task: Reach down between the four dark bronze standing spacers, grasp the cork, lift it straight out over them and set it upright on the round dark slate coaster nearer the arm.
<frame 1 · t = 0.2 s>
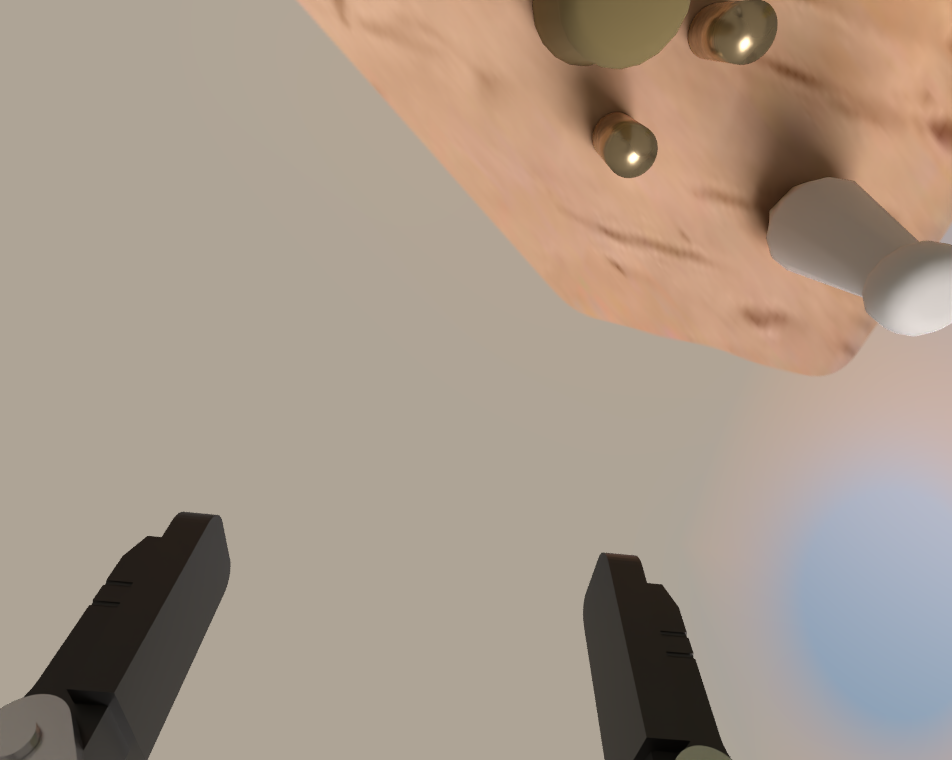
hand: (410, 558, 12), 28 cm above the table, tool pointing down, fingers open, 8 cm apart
cork: (588, 1, 30), on the table
salt shaker: (798, 215, 36), on the table
spacer b: (712, 31, 30), on the table
spacer a: (614, 135, 33), on the table
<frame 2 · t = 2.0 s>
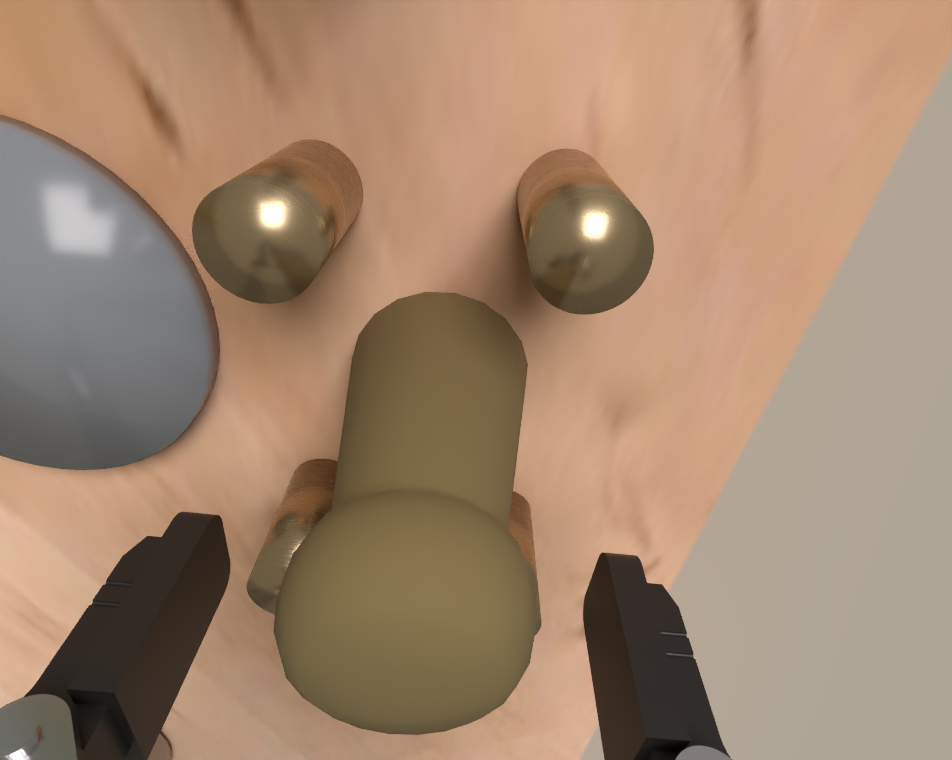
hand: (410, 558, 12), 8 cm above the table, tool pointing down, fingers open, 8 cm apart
spacer d: (498, 512, 23), on the table
cork: (440, 369, 19), on the table
spacer c: (326, 484, 22), on the table
spacer b: (317, 188, 16), on the table
spacer a: (562, 197, 16), on the table
slate coaster: (30, 309, 18), on the table
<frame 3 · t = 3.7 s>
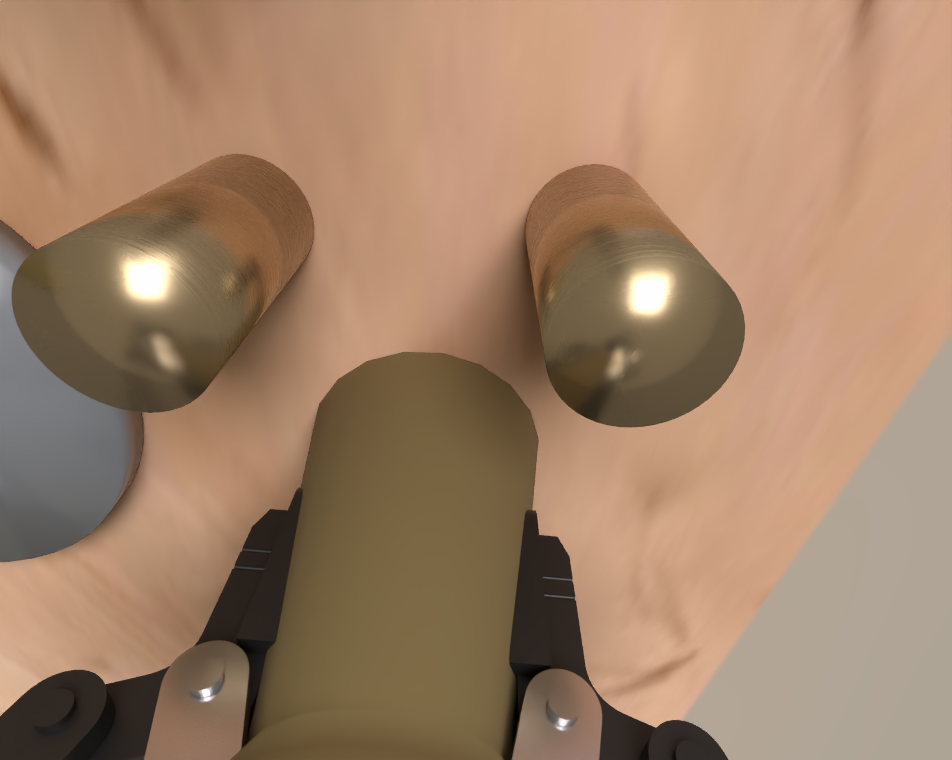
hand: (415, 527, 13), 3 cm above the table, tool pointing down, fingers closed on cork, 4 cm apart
cork: (426, 443, 15), on the table, touching gripper
spacer b: (251, 220, 12), on the table
spacer a: (587, 229, 12), on the table
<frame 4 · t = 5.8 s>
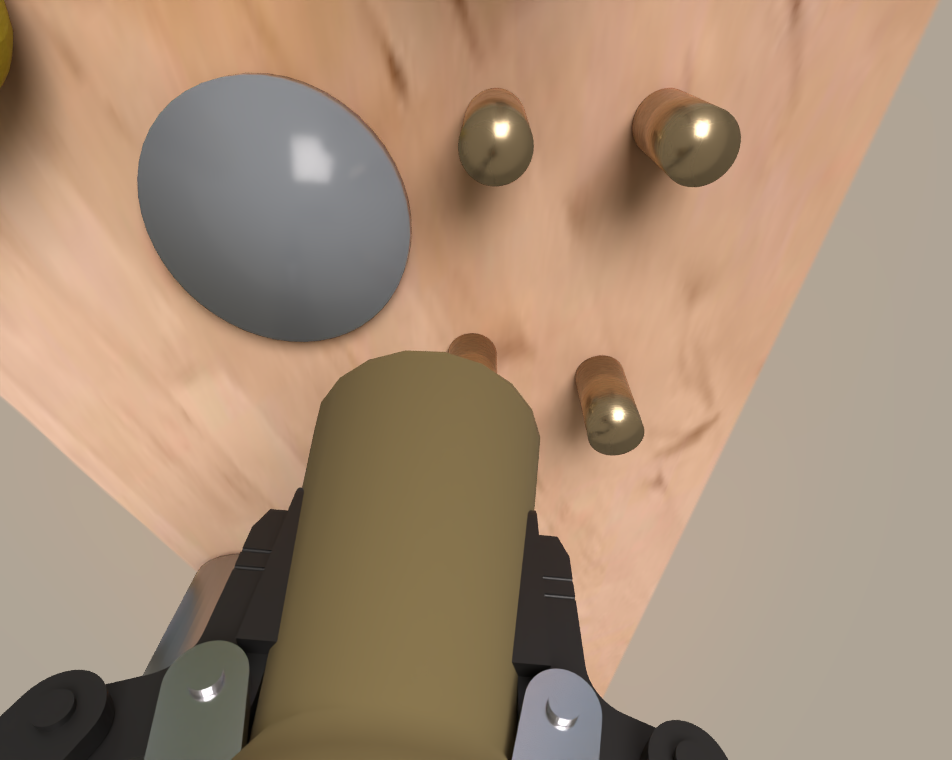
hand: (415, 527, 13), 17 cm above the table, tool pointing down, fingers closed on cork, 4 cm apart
spacer d: (599, 375, 30), on the table
cork: (428, 442, 15), point 14 cm above the table, touching gripper
spacer c: (472, 354, 30), on the table
spacer b: (495, 122, 23), on the table
spacer a: (663, 123, 23), on the table
slate coaster: (283, 219, 26), on the table
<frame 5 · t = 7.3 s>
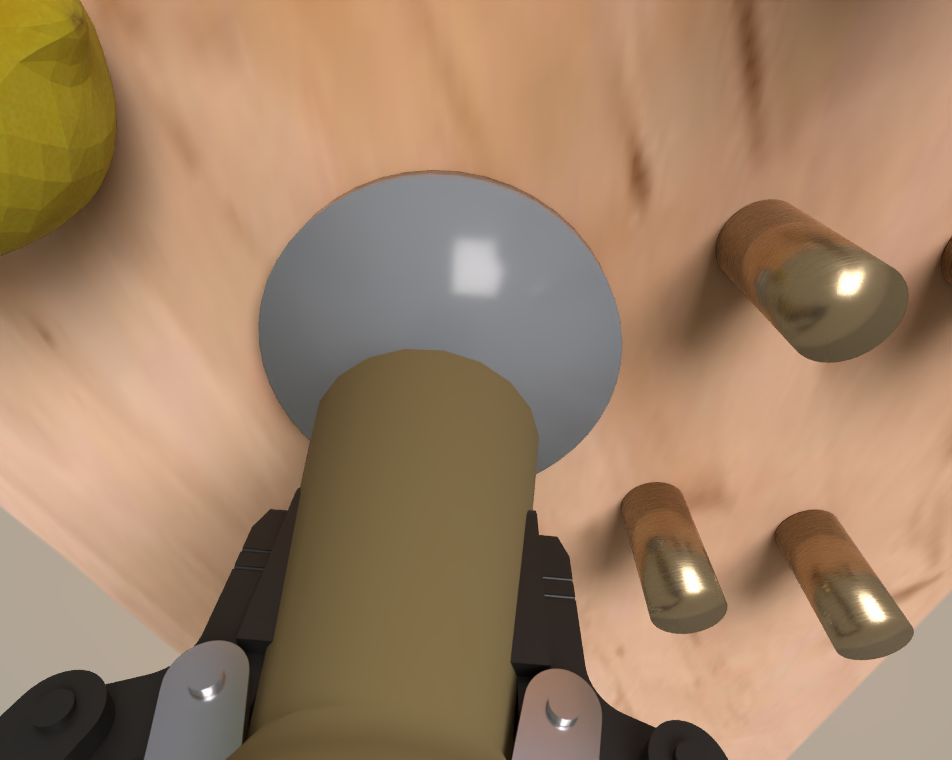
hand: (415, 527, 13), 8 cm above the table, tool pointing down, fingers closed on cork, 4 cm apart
spacer d: (806, 531, 24), on the table
lemon: (1, 71, 15), on the table
cork: (427, 441, 15), point 5 cm above the table, touching gripper
spacer c: (652, 505, 23), on the table
spacer b: (759, 242, 17), on the table
slate coaster: (442, 349, 19), on the table
when the fingers open (5 cm above the table, at t = 8.2 s): cork drops 1 cm, resting on slate coaster.
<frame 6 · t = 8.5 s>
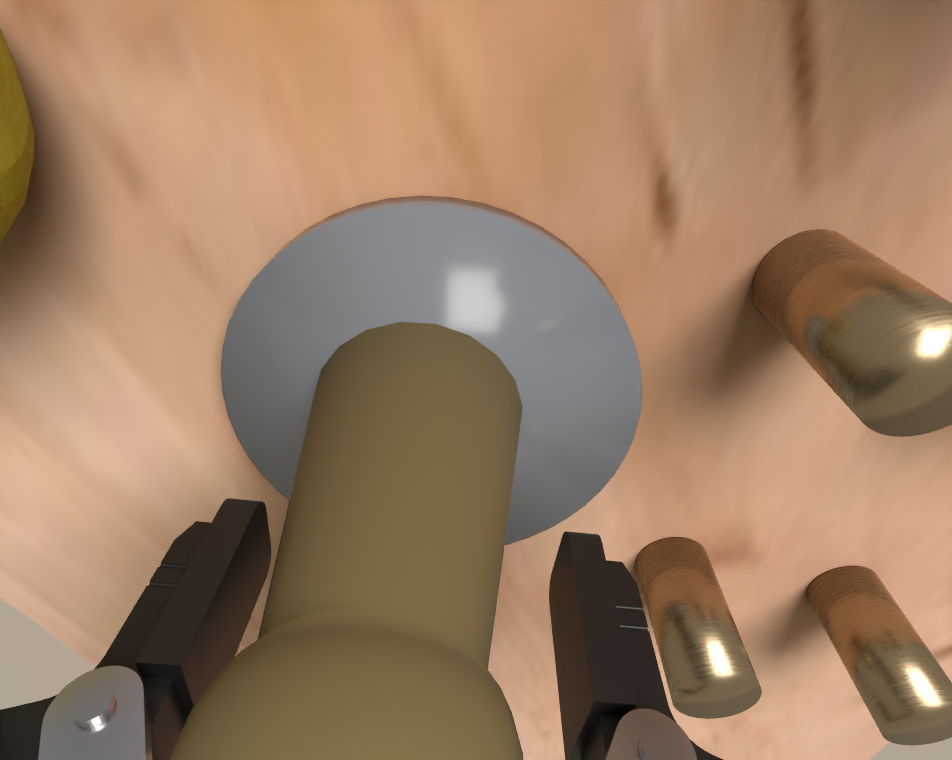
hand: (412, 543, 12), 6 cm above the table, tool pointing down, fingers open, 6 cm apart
spacer d: (842, 587, 22), on the table
cork: (419, 410, 16), point 1 cm above the table, touching slate coaster
spacer c: (671, 560, 21), on the table
spacer b: (803, 278, 15), on the table
slate coaster: (434, 395, 17), on the table
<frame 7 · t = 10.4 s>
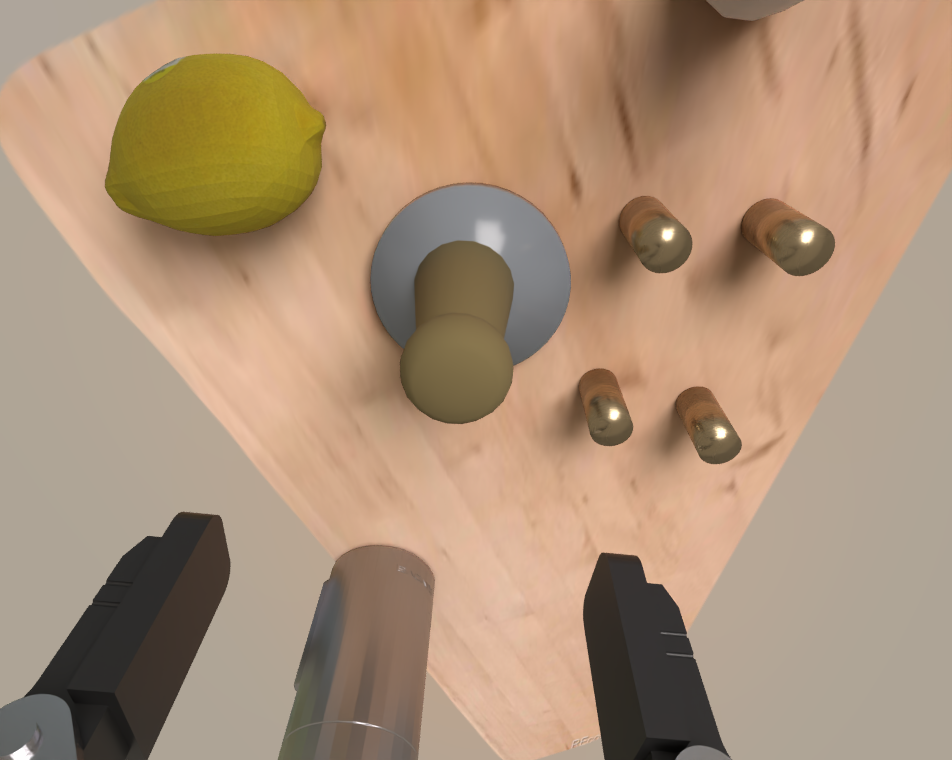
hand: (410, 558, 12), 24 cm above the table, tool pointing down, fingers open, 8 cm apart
spacer d: (694, 402, 39), on the table
lemon: (250, 135, 30), on the table
cork: (464, 287, 34), point 1 cm above the table, touching slate coaster
spacer c: (597, 384, 38), on the table
spacer b: (642, 219, 32), on the table
spacer a: (764, 221, 32), on the table
slate coaster: (470, 283, 34), on the table
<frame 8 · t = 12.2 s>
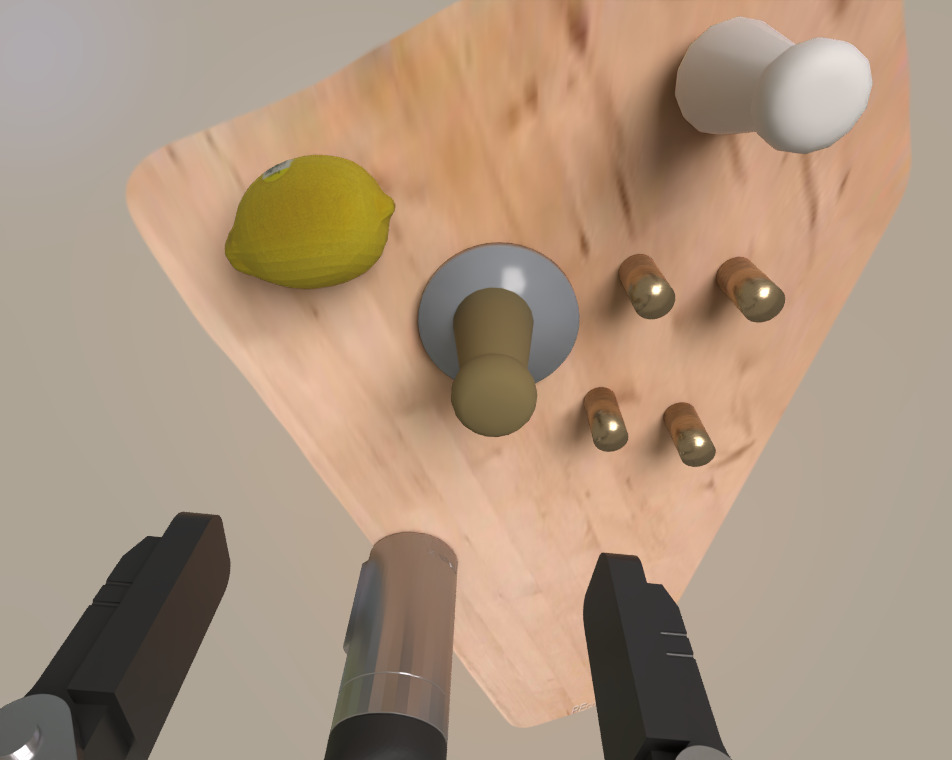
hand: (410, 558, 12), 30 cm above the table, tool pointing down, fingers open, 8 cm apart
spacer d: (679, 415, 47), on the table
lemon: (328, 205, 38), on the table
cork: (493, 323, 42), point 1 cm above the table, touching slate coaster
spacer c: (599, 400, 46), on the table
salt shaker: (713, 74, 33), on the table
spacer b: (637, 271, 40), on the table
spacer a: (735, 274, 40), on the table
slate coaster: (498, 319, 42), on the table
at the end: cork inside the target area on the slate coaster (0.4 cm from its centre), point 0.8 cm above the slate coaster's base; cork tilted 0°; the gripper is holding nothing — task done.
